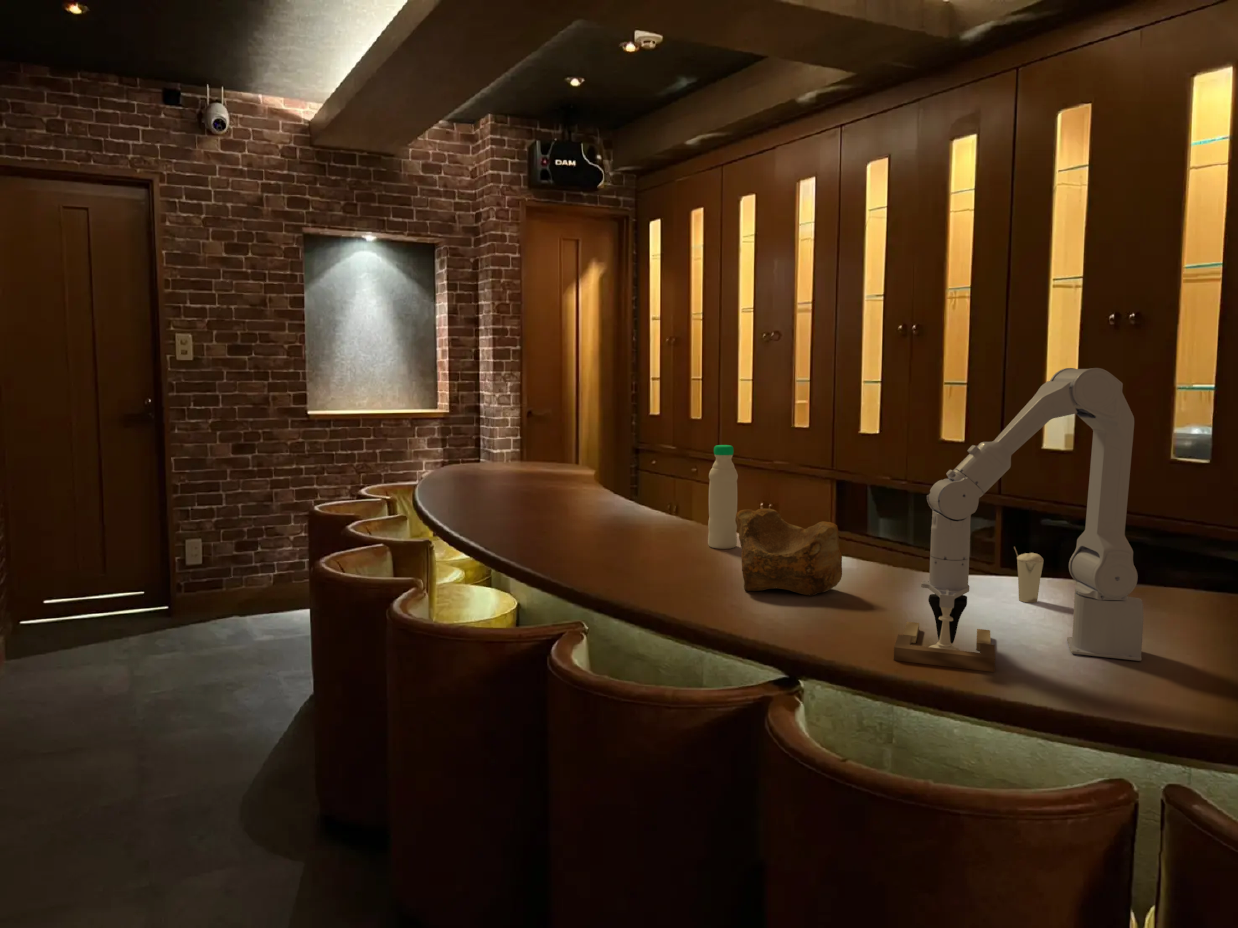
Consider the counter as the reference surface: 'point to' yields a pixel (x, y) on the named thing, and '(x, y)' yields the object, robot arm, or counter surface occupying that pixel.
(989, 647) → the stop rail
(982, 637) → the pocket channel
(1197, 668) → the counter surface
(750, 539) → the rough brown rock
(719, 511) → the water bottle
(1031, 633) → the counter surface
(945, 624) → the chess piece
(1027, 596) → the milkshake
